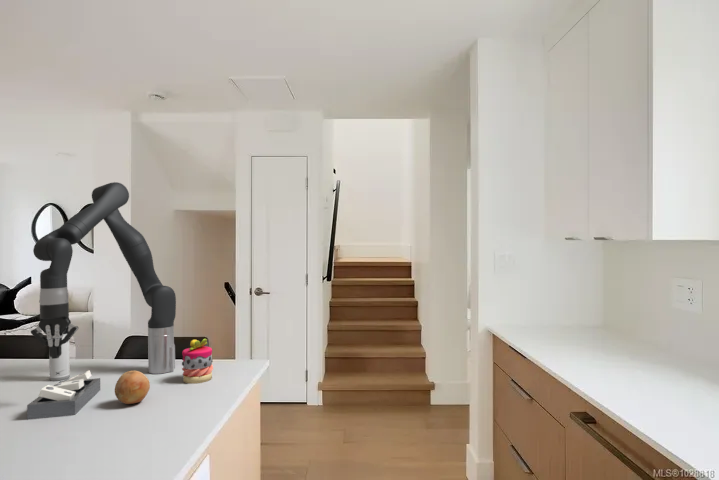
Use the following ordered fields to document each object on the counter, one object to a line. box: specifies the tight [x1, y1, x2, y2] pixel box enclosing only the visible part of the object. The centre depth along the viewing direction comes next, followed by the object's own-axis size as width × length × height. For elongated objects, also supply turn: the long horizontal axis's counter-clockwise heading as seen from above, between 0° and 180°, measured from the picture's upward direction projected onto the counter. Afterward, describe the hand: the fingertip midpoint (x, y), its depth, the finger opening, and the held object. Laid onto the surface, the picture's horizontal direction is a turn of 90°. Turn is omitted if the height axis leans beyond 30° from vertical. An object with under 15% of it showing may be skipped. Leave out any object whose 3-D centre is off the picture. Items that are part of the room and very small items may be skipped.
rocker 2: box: [61, 369, 93, 383], centre depth 150 cm, size 8×4×2 cm, turn 105°
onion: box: [114, 370, 151, 405], centre depth 141 cm, size 10×10×10 cm
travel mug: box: [48, 327, 71, 382], centre depth 170 cm, size 6×7×20 cm
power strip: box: [26, 377, 101, 420], centre depth 146 cm, size 12×33×4 cm, turn 14°
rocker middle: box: [52, 379, 84, 391], centre depth 142 cm, size 8×4×2 cm, turn 104°
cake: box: [181, 338, 214, 385], centre depth 166 cm, size 10×11×15 cm
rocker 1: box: [38, 384, 76, 401], centre depth 135 cm, size 8×4×2 cm, turn 104°
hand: (55, 357), depth 143 cm, fingers closed
